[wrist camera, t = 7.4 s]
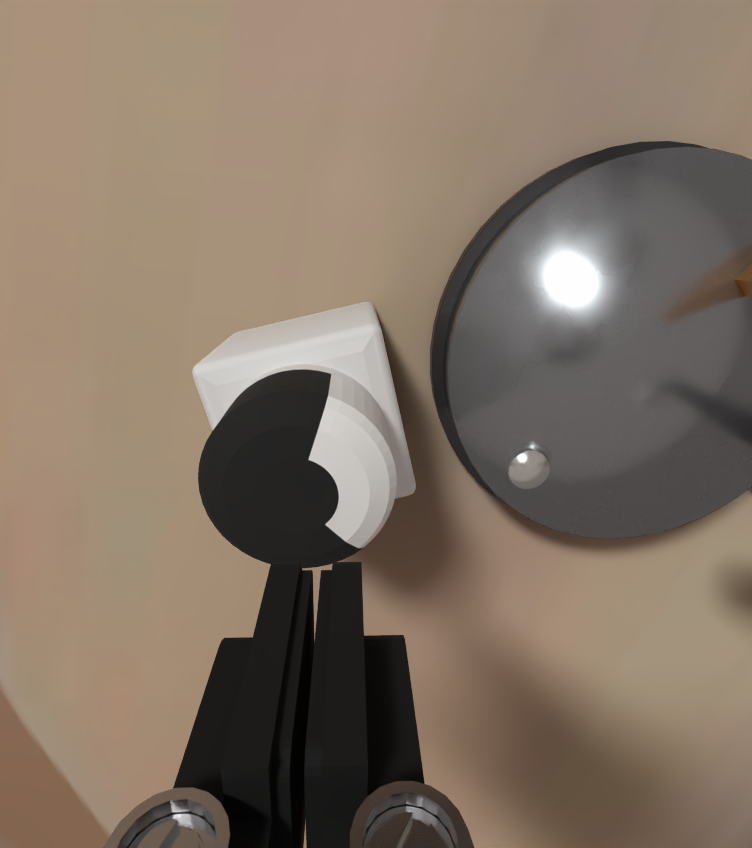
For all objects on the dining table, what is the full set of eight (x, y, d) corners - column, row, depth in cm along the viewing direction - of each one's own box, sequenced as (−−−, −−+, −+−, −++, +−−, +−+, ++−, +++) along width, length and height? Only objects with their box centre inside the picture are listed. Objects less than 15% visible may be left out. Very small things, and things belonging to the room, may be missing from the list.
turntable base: (445, 134, 23) (449, 130, 22) (857, 154, 24) (878, 151, 23) (418, 515, 29) (420, 524, 28) (742, 518, 30) (754, 527, 29)
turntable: (588, 574, 30) (643, 654, 24) (366, 361, 25) (370, 398, 19) (873, 355, 26) (1016, 388, 20) (675, 51, 21) (792, -14, 16)
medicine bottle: (272, 462, 28) (218, 617, 17) (230, 332, 25) (132, 411, 14) (402, 432, 28) (437, 570, 16) (372, 298, 25) (388, 351, 14)
